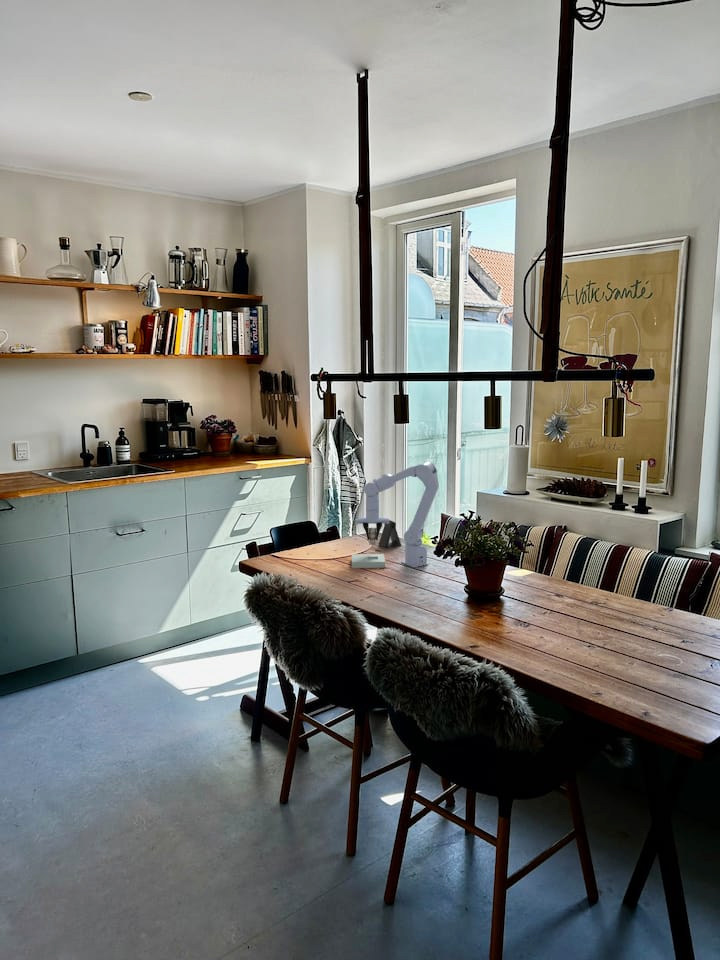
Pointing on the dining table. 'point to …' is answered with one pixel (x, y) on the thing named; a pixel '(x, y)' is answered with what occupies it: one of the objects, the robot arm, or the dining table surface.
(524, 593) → the dining table surface
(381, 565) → the hole board
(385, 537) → the phone stand
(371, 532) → the peg
